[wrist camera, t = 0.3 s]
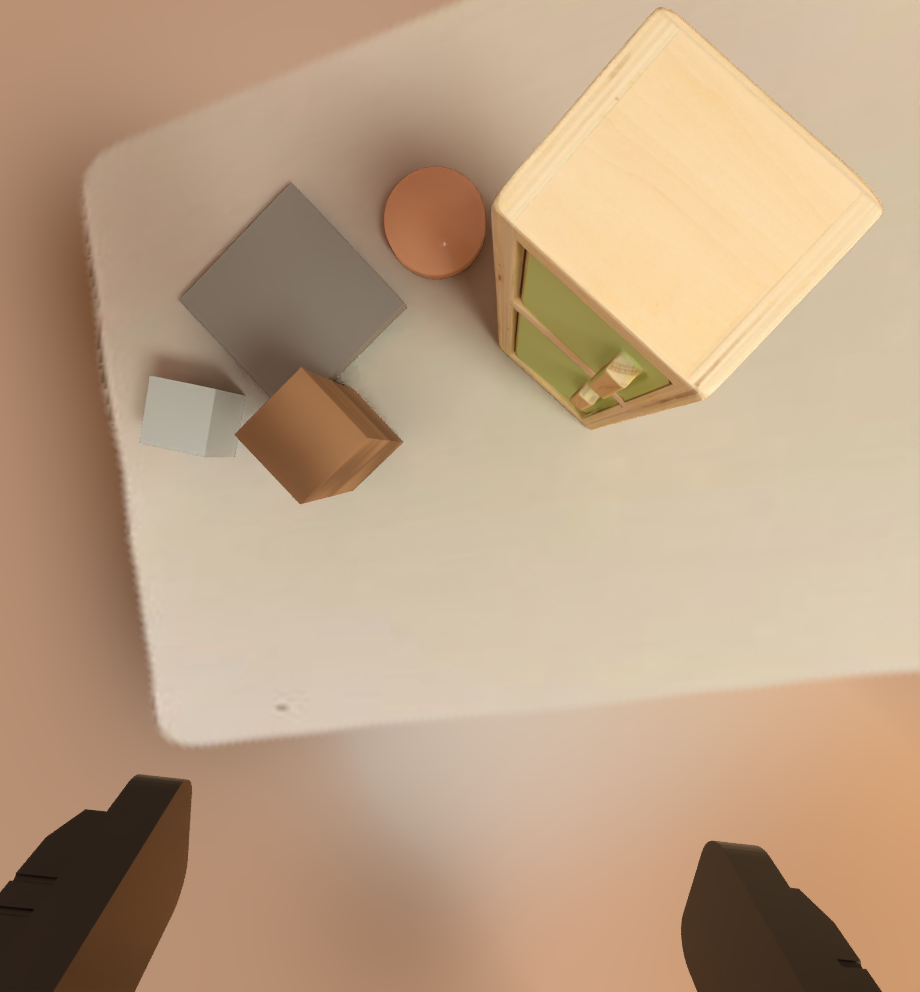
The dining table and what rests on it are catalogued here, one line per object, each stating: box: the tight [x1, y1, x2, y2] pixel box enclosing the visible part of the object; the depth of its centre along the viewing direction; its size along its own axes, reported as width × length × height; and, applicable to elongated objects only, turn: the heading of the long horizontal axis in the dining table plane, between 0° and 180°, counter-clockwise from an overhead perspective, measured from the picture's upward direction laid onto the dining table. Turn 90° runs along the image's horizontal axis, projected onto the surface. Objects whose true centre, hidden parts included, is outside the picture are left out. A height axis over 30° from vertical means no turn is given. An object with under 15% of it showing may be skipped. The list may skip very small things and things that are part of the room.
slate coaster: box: [179, 183, 407, 397], centre depth 36 cm, size 10×10×1 cm
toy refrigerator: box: [491, 7, 884, 430], centre depth 25 cm, size 8×7×21 cm
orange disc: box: [384, 167, 486, 279], centre depth 35 cm, size 6×6×2 cm
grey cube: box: [139, 376, 245, 457], centre depth 36 cm, size 4×4×4 cm
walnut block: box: [234, 367, 403, 504], centre depth 32 cm, size 4×4×10 cm
